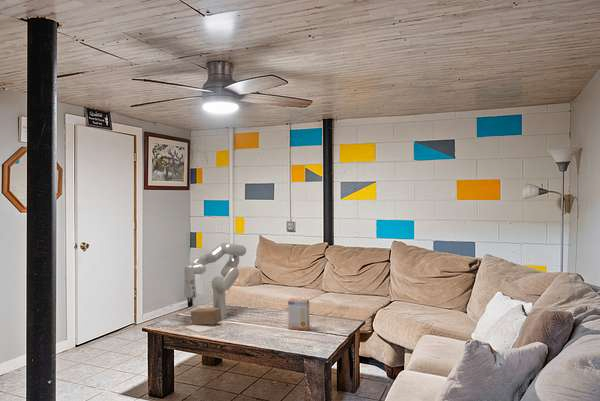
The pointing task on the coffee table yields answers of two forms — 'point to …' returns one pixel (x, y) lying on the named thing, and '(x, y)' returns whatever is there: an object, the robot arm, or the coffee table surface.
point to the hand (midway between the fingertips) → (190, 306)
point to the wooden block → (206, 316)
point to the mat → (201, 327)
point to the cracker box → (298, 314)
